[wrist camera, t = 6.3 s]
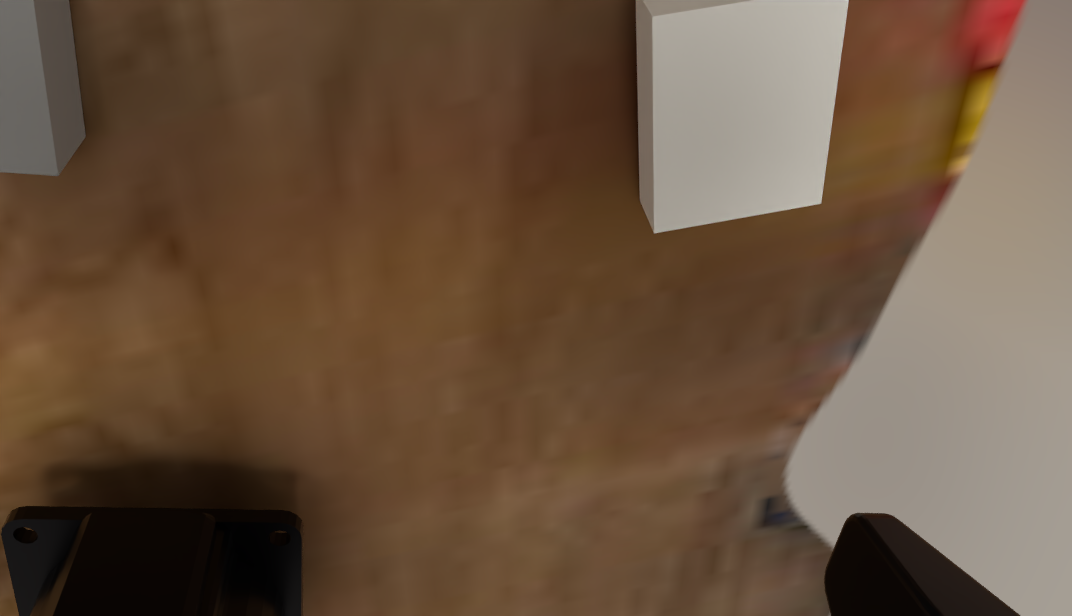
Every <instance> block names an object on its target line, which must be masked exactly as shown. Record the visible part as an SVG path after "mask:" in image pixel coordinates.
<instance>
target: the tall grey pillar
mask: <svg viewBox="0 0 1072 616" xmlns="http://www.w3.org/2000/svg"><path fill="white" fill-rule="evenodd" d="M85 137H86V134H85V126H84V118H83V110H82V102H81V94H80V86H79V77H78V69H77V61H76V53H75V45H74V37H73V29H72V20H71V12H70V4H69V0H0V172H6V173H21V174H36V175H50V176H59V174H60V173H61V172H62V170H63V169H64V167H65V166H66V164H67V163H68V161H69V160H70V159H71V157H72V156H73V154H74V153H75V151H76V150H77V149H78V147H79V146H80V144H81V143H82V141H83V140H84V138H85Z"/></svg>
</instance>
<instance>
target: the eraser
mask: <svg viewBox="0 0 1072 616" xmlns="http://www.w3.org/2000/svg"><path fill="white" fill-rule="evenodd" d="M848 2H849V0H636V42H637V92H638V142H639V193H640V202H641V205H642V207H643V209H644V212H645V214H646V216H647V218H648V221H649V223H650V225H651V228H652V230H653V232H654V233H660V232H665V231H671V230H677V229H682V228H688V227H693V226H699V225H705V224H710V223H716V222H721V221H727V220H733V219H738V218H744V217H749V216H755V215H761V214H766V213H772V212H778V211H783V210H789V209H794V208H800V207H806V206H811V205H817V204H821V201H822V193H823V186H824V179H825V171H826V164H827V156H828V149H829V142H830V134H831V127H832V120H833V112H834V105H835V98H836V90H837V83H838V75H839V68H840V61H841V53H842V46H843V39H844V31H845V24H846V17H847V9H848Z"/></svg>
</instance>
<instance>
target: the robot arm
mask: <svg viewBox="0 0 1072 616" xmlns="http://www.w3.org/2000/svg"><path fill="white" fill-rule="evenodd" d="M23 527H27V528H31V529H32V530H34V531H32V530H27V529H25V528H23ZM278 530H281V531H286V532H287V533H282V534H281V533H276V532H275V531H278ZM1 536H2V540H3V545H4V549H5V554H6V558H7V563H8V567H9V571H10V576H11V580H12V585H13V589H14V594H15V598H16V603H17V607H18V612H19V616H303V523H302V520H301V519H300V518H299V517H298V516H297V515H296V514H294V513H292V512H290V511H284V510H240V509H176V508H112V507H49V506H25V507H19V508H17V509H15V510H12V511H11V513H10V514H9V515H8V517H7V519H6V521H5V523H4V525H3V527H2V533H1ZM824 584H825V592H826V597H827V601H828V605H829V609H830V613H831V616H1020V615H1019V614H1018V613H1016V612H1015V611H1014V610H1013V609H1011V608H1010V607H1009V606H1007V605H1006V604H1005V603H1004V602H1003V601H1001V600H1000V599H999V598H998V597H996V596H995V595H994V594H992V593H991V592H990V591H989V590H987V589H986V588H985V587H984V586H982V585H981V584H980V583H978V582H977V581H976V580H974V579H973V578H972V577H971V576H970V575H968V574H967V573H966V572H964V571H963V570H962V569H961V568H959V567H958V566H957V565H955V564H954V563H953V562H952V561H950V560H949V559H948V558H946V557H945V556H944V555H943V554H942V553H940V552H939V551H938V550H937V549H935V548H934V547H933V546H931V545H930V544H929V543H928V542H926V541H925V540H924V539H923V538H921V537H920V536H919V535H917V534H916V533H915V532H914V531H912V530H911V529H910V528H909V527H907V526H906V525H905V524H903V523H902V522H901V521H899V520H898V519H897V518H895V517H894V516H892V515H889V514H884V513H855V514H852V515H851V516H850V517H849V518H847V520H846V521H845V523H844V525H843V528H842V530H841V533H840V535H839V537H838V540H837V542H836V545H835V547H834V549H833V552H832V554H831V557H830V559H829V561H828V564H827V567H826V570H825V578H824Z"/></svg>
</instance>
